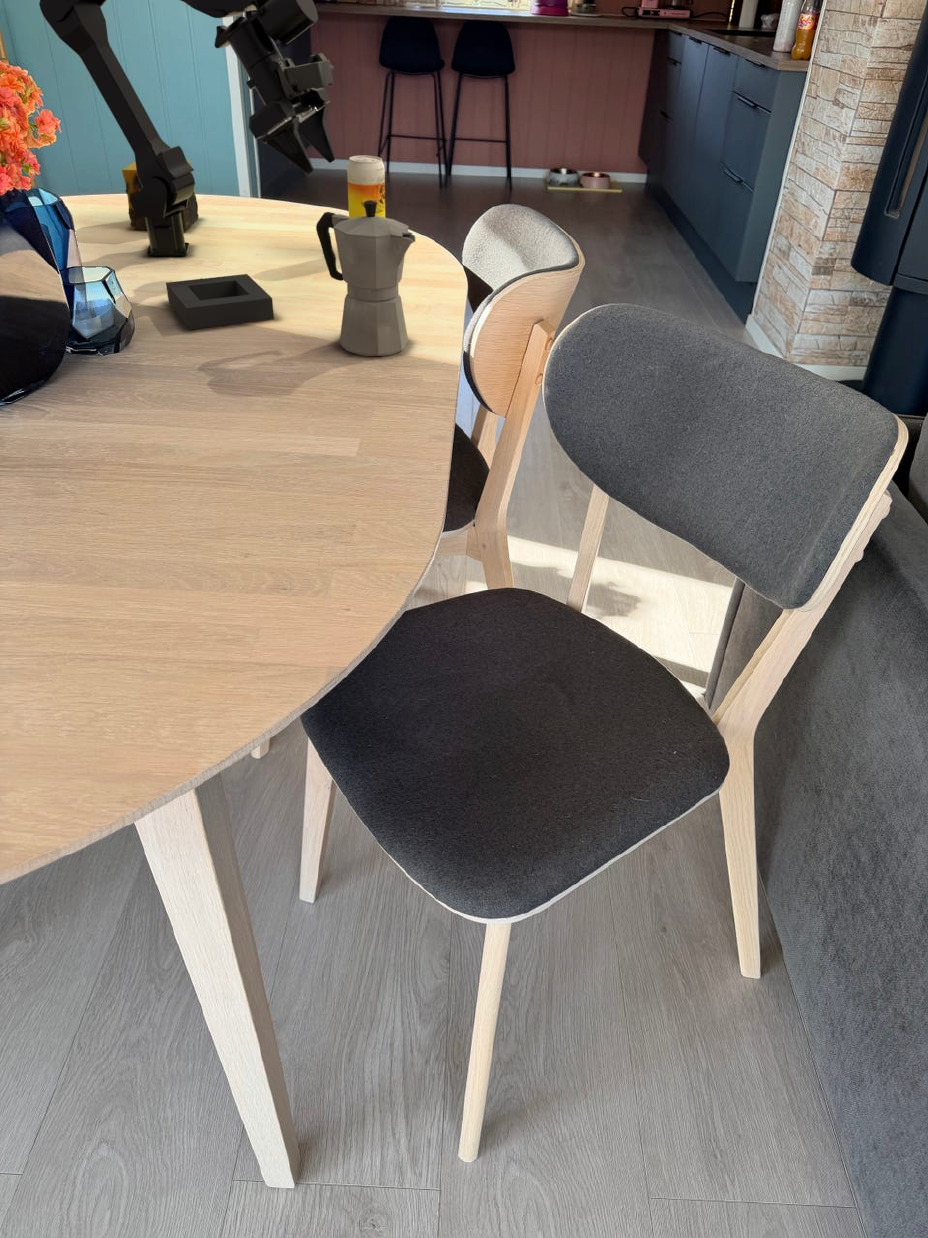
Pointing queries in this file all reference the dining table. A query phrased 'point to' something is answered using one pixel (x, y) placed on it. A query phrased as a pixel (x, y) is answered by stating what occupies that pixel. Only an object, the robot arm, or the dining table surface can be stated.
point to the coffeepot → (368, 278)
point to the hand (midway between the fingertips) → (322, 166)
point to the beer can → (365, 184)
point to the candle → (135, 187)
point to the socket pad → (219, 301)
